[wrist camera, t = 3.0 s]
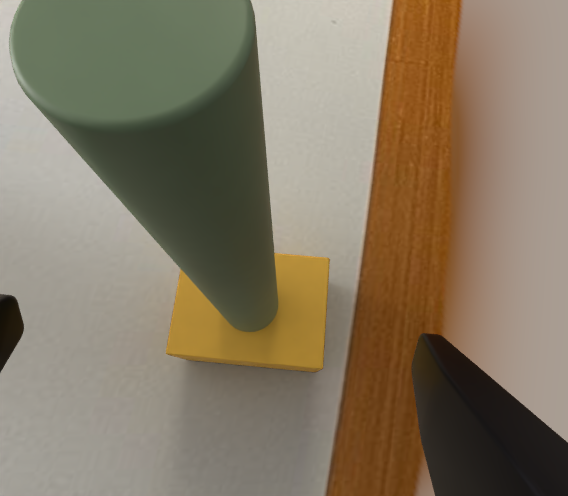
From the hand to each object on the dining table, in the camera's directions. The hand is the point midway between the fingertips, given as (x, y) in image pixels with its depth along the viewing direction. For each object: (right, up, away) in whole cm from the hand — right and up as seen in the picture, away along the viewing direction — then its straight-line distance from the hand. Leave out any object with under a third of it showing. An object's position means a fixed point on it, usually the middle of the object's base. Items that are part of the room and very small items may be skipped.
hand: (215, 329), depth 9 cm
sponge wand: (0, -2, +11) cm, 11 cm away
